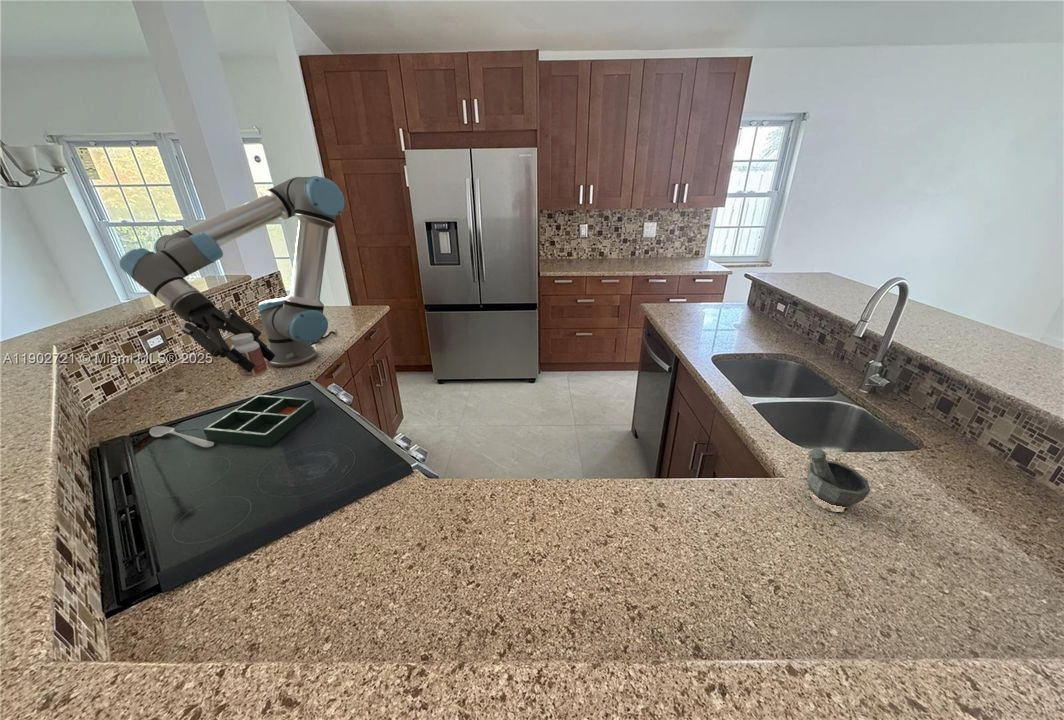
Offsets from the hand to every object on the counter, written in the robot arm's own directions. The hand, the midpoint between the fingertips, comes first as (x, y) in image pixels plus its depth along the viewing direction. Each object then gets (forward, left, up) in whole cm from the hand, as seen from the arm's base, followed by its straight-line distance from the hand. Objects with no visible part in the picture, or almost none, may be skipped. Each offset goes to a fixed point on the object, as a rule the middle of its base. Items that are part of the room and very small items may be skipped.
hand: (262, 363), depth 100 cm
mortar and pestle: (+15, +137, -16) cm, 138 cm away
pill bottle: (0, -4, -4) cm, 5 cm away
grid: (+6, +1, -15) cm, 17 cm away
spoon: (+15, -15, -16) cm, 26 cm away
